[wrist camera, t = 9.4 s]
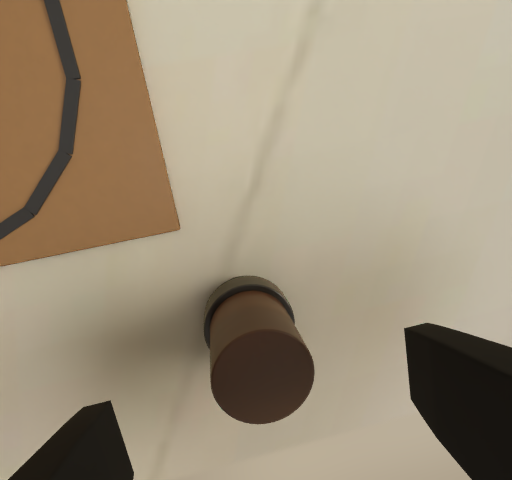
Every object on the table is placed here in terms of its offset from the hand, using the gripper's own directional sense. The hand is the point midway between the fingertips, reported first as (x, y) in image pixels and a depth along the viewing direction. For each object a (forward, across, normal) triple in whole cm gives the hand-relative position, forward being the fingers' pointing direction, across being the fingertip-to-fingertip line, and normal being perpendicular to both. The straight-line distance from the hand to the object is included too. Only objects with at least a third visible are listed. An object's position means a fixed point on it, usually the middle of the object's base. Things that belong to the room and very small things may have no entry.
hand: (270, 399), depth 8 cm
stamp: (+5, 0, 0) cm, 5 cm away
